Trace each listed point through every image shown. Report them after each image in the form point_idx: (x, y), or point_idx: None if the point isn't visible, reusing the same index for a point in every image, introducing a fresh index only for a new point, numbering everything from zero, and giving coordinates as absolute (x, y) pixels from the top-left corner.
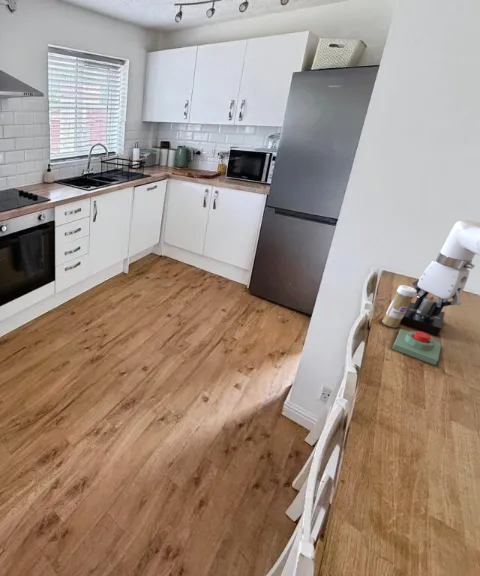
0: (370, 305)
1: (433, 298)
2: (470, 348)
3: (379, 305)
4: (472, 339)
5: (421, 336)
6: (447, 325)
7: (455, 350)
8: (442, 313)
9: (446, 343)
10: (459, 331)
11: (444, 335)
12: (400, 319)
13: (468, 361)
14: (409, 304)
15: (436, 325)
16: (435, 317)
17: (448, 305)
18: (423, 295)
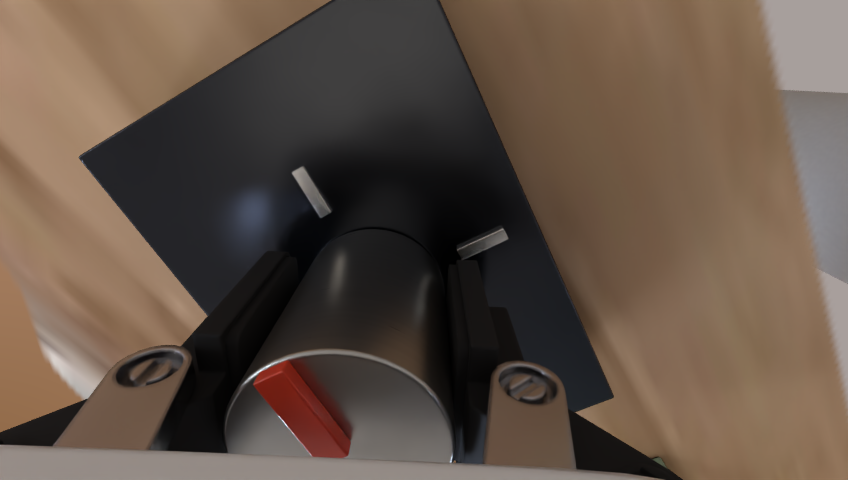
0: (92, 389)
1: (312, 383)
2: (796, 264)
3: (89, 321)
4: (768, 75)
5: None
6: (519, 30)
7: (735, 393)
8: (427, 27)
9: (664, 366)
10: (638, 34)
11: (603, 268)
12: None
13: (826, 435)
14: (163, 232)
15: (567, 390)
16: (473, 257)
17: (609, 435)
18: (187, 450)
